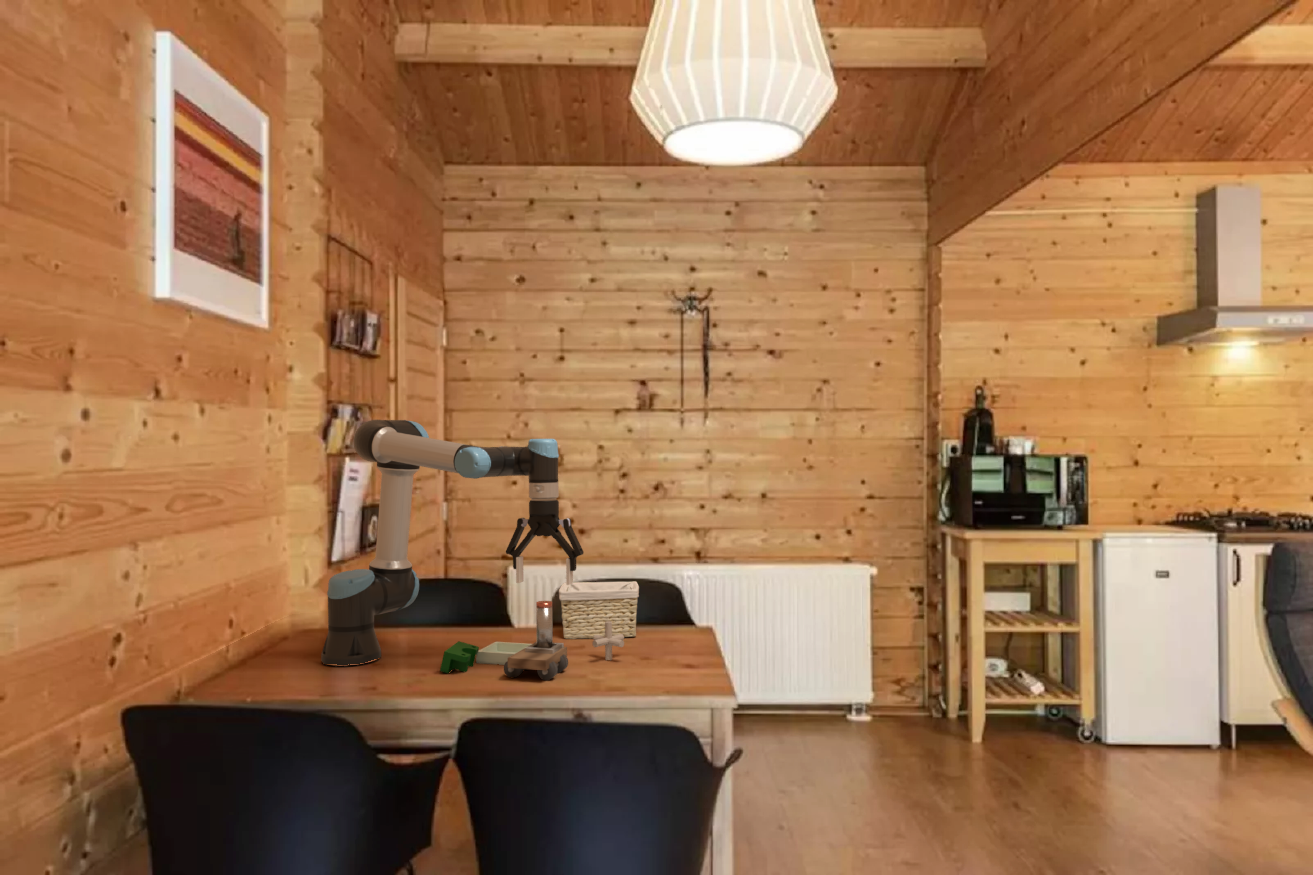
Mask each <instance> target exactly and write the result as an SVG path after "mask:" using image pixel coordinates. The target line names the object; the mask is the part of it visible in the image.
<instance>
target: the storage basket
mask: <svg viewBox="0 0 1313 875" xmlns="http://www.w3.org/2000/svg"><path fill="white" fill-rule="evenodd" d="M639 593H640V586H639V584H638V582H637V581H636V580H635V581H596V582H595V581H591V582H590V581H589V582H587V581H585V582H583V581H579V582H578V581H577V582H574V581H573V583H572V584H570V585H566V581H565V582H563V583H562V584H561V586H560V587H559V589H558V595H559V596H558V597H559V601H560V604H561V619H562V622H561V623H562V627H563V629H562V630H563V631H562V632H563V638H564V639H569V640H575V639H591V640H592V639H593V638H594V636H595V635H600V636H604V637H605V622H607V621H610V622H612V636H615V635H619V634H623V636H624V638H629V637H632V638H633V637H636V636H637V613H638V611H637V610H638V598H639V597H640V595H639Z"/></svg>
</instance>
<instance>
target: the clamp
mask: <svg viewBox="0 0 1313 875" xmlns="http://www.w3.org/2000/svg"><path fill="white" fill-rule="evenodd" d="M478 650H480V647H479V646H477V645H475V644H472V643H471V644H470V643H466V642H463V641H457V642H456V643H454V644H453V645H451V646H450V647H448V648H447V649H445V650H444V651H443V656H442V660H441V664H440V669H439V671H440V672H441V673H445V674H448V673H449V672H450V671H451V670H452V671H454V670H456V671H459V672H463V673H467V672H468V668H469V667H471V668H473V667H474V664H475V661H476V654H477V653H478ZM453 669H454V670H453ZM452 671H451V672H452ZM451 672H450V673H451ZM450 673H449V674H450Z"/></svg>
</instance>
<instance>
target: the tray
mask: <svg viewBox="0 0 1313 875" xmlns="http://www.w3.org/2000/svg"><path fill="white" fill-rule="evenodd" d="M532 644H533V643H523V642H521V643H520V642H508V641H507V642H506V641H505V642H504V641H495V642H492V643H490V644H488V645H487V646H484V647H483V648H479V650H478V653H477V654H476V656H475V662H476V664H482V665H483V664H487V665H497V664H499V665H501V666H504V664H505V663H506V662H507V661H508V657H510V656H512V655H514V654H515V653H517V652H519V651H521V650H523V649H524V648H526V647H528V646H530V645H532Z"/></svg>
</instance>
